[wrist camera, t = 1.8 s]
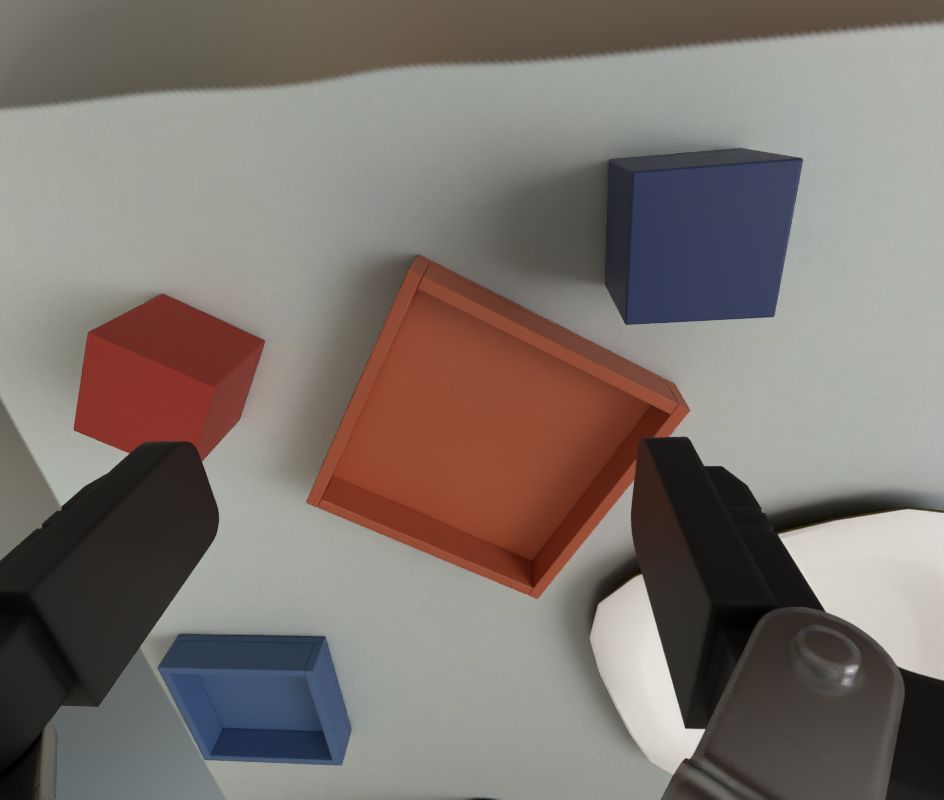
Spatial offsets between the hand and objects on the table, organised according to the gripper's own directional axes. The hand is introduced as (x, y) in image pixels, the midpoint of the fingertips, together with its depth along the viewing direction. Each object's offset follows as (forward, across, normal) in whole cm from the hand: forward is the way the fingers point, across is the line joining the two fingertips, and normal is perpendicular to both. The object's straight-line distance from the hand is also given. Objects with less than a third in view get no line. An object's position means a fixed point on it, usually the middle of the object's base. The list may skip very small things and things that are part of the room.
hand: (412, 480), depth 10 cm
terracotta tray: (+15, 0, +8) cm, 18 cm away
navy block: (+15, -8, -2) cm, 18 cm away
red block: (+15, +13, +4) cm, 21 cm away
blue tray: (+15, +16, +29) cm, 37 cm away
